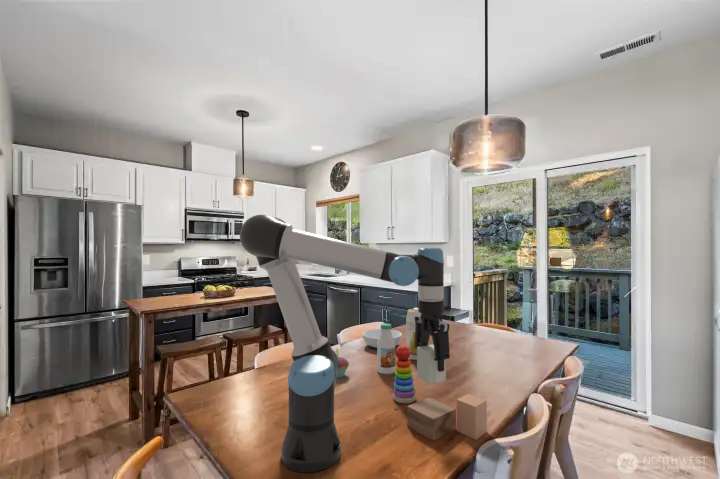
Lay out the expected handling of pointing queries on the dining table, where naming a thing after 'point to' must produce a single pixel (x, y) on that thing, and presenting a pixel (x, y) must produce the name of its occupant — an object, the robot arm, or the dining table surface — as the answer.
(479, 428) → the terracotta block
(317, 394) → the robot arm
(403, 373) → the stacking toy
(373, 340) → the serving bowl
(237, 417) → the dining table surface
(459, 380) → the dining table surface
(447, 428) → the walnut block
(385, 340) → the milk bottle
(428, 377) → the sage block
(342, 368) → the cupcake
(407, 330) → the juice carton
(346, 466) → the dining table surface
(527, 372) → the dining table surface
